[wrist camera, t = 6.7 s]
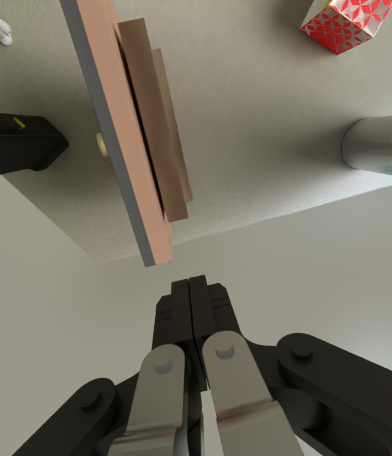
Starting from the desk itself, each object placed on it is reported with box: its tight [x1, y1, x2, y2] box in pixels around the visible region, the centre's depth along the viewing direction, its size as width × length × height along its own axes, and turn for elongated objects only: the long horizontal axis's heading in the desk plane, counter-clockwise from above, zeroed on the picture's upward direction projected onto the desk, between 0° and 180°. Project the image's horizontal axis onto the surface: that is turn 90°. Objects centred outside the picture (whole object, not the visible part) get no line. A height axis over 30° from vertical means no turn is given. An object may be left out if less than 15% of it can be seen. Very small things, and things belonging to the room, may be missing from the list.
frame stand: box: [117, 18, 192, 223], centre depth 32 cm, size 10×24×24 cm, turn 12°
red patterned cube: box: [300, 0, 392, 55], centre depth 36 cm, size 8×8×8 cm
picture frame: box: [60, 0, 172, 267], centre depth 26 cm, size 3×22×16 cm, turn 11°
